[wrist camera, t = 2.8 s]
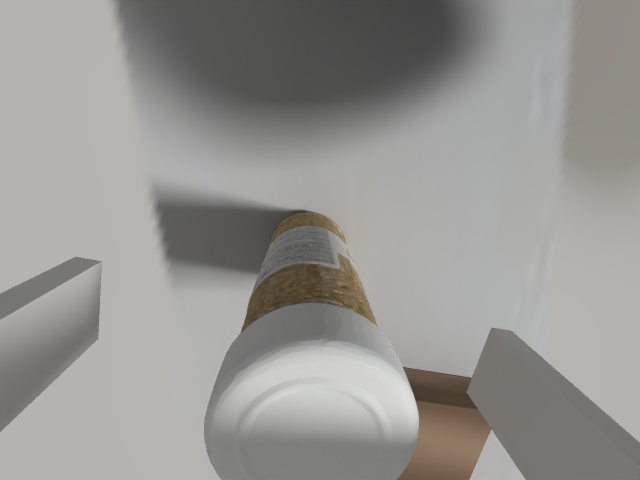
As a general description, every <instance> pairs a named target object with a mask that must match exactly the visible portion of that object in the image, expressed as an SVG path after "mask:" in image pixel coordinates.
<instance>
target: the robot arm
mask: <svg viewBox="0 0 640 480" xmlns="http://www.w3.org/2000/svg"><path fill="white" fill-rule="evenodd" d="M101 263H102V262H101V261H96V260H90V259H84V258H79V257H75V258H72V259H70V260H68V261H66V262H64V263H62V264H60V265H58V266H56V267H54V268H52V269H50V270H48V271H46V272H44V273H42V274H40V275H38V276H36V277H34V278H31V279H30V280H27V281H25V282H23V283H21V284H20V285H17V286H15V287H13V288H11V289H9V290H7V291H5V292H3V293H1V294H0V432H1V431H2V430H3V429H4V428H5V427H6V426H7V425H8V424H9V423H10V422H11V421H12V420H13V419H14V418H15V417H16V416H17V415H18V414H19V413H21V412H22V411H23V409H25V408H26V407H27V406H28V405H29V404H30V403H31V402H32V401H33V400H34V399H35V398H36V397H37V396H39V395H40V393H42V392H43V390H45V389H46V388H47V387H48V386H49V385H50V384H51V383H52V382H53V381H54V380H55V379H56V378H57V377H59V376H60V374H61V373H63V372H64V371H65V370H66V369H67V368H68V367H69V366H70V365H71V364H72V363H73V362H74V361H75V360H76V359H77V358H78V357H80V356H81V355H82V354H83V353H84V352H85V351H86V350H87V349H88V348H89V347H90V346H91V345H92V344H93V343H94V342H95V341H96V340H98V332H99V309H100V285H101ZM467 394H468V395H469V397H470V398H471V399H472V401H473V402H474V404H475V405H476V407H477V408H478V410H479V411H480V413H481V414H482V416H483V417H484V419H485V420H486V422H487V423H488V425H489V426H490V427H491V429H492V430H493V432H494V433H495V435H496V436H497V438H498V439H499V441H500V442H501V444H502V445H503V447H504V448H505V450H506V451H507V453H508V454H509V456H510V457H511V458H512V460H513V461H514V463H515V464H516V466H517V467H518V469H519V470H520V472H521V473H522V475H523V476H524V478H525V479H526V480H640V443H639V442H638V441H637V440H636V439H635V438H634V437H633V436H631V435H630V434H629V433H628V432H627V431H626V430H625V429H623V428H622V427H621V426H620V425H619V424H618V423H616V422H615V421H614V420H613V419H612V418H611V417H610V416H608V415H607V414H606V413H605V412H604V411H602V410H601V409H600V408H599V407H598V406H597V405H596V404H595V403H594V402H592V401H591V400H590V399H589V398H588V397H586V396H585V395H584V394H583V393H582V392H581V391H580V390H579V389H577V388H576V387H575V386H574V385H573V384H572V383H571V382H569V381H568V380H567V379H566V378H565V377H564V376H562V375H561V374H560V373H559V372H558V371H557V370H556V369H555V368H553V367H552V366H551V365H550V364H549V363H548V362H546V361H545V360H544V359H543V358H542V357H541V356H540V355H538V354H537V353H536V352H535V351H534V350H533V349H532V348H530V347H529V346H528V345H527V344H526V343H525V342H524V341H522V340H521V339H520V338H519V337H518V336H517V335H516V334H514V333H513V332H512V331H509V330H504V329H498V328H492V327H491V330H490V333H489V335H488V338H487V340H486V343H485V346H484V348H483V351H482V353H481V356H480V359H479V361H478V364H477V366H476V369H475V372H474V374H473V377H472V379H471V382H470V385H469V387H468V390H467Z"/></svg>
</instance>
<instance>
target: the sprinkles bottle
mask: <svg viewBox="0 0 640 480" xmlns="http://www.w3.org/2000/svg"><path fill="white" fill-rule="evenodd" d="M418 431H419V415H418V409H417V405H416V401H415V398H414V395H413V392H412V389H411V387H410V384H409V381H408V379H407V376H406V374H405V371H404V369H403V367H402V365H401V362H400V360H399V358H398V356H397V354H396V352H395V349H394V347H393V345H392V344H391V342H390V341H389V339H388V338H387V336H386V335H385V334H384V333H383V332H382V331H381V330H380V329H379V328H378V326H377V324H376V321H375V318H374V316H373V313H372V310H371V308H370V306H369V302H368V300H367V297H366V294H365V290H364V287H363V285H362V283H361V280H360V277H359V274H358V271H357V268H356V266H355V264H354V261H353V259H352V256H351V254H350V252H349V250H348V248H347V246H346V242H345V238H344V235H343V233H342V231H341V229H340V228H339V227H338V226H337V225H336V224H335V223H334V222H333V221H332V220H331V219H329V218H327V217H326V216H323V215H320V214H317V213H313V212H305V213H297V214H294V215H291V216H289V217H288V218H286V219H284V220H283V221H282V222H281V223H280V224H279V225H278V226H277V228H276V229H275V230H274V232H273V234H272V236H271V239H270V244H269V249H268V251H267V253H266V256H265V259H264V261H263V264H262V267H261V269H260V272H259V275H258V278H257V281H256V283H255V286H254V289H253V292H252V295H251V297H250V300H249V304H248V308H247V315H246V318H245V321H244V325H243V327H242V330H241V333H240V335H239V336H238V337H237V338H236V340H235V341H234V342H233V343H232V345H231V346H230V348H229V350H228V352H227V353H226V356H225V358H224V361H223V363H222V366H221V368H220V371H219V373H218V376H217V379H216V382H215V385H214V388H213V391H212V394H211V397H210V401H209V404H208V407H207V412H206V416H205V422H204V437H205V444H206V449H207V453H208V456H209V459H210V461H211V464H212V465H213V467H214V469H215V471H216V473H217V474H218V476H219V477H220V478H221V479H222V480H397V479H398V478H399V477H400V475H401V474H402V473H403V471H404V470H405V468H406V467H407V465H408V463H409V461H410V459H411V457H412V455H413V453H414V450H415V447H416V444H417V439H418Z"/></svg>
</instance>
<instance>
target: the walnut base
mask: <svg viewBox="0 0 640 480" xmlns="http://www.w3.org/2000/svg"><path fill="white" fill-rule="evenodd" d="M403 369H404V371H405V374H406V376H407V379H408V381H409V384H410V387H411V389H412V392H413V395H414V398H415V401H416V405H417V409H418V415H419V431H418V439H417V444H416V447H415V450H414V453H413V455H412V457H411V459H410V461H409V463H408V465H407V467H406V468H405V470H404V471H403V473H402V474H401V475H400V477H399V478H398V479H397V480H469V479H470V477H471V474H472V472H473V470H474V468H475V465H476V463H477V461H478V458H479V456H480V454H481V451H482V449H483V447H484V444H485V442H486V440H487V438H488V435H489V433H490V431H491V427H490V426H489V425H488V423H487V422H486V420H485V419H484V417H483V416H482V414H481V413H480V411H479V410H478V408H477V407H476V405H475V404H474V402H473V401H472V399H471V398H470V397H469V395H468V394H467V390H468V387H469V385H470V382H471V379H472V378H467V377H461V376H454V375H448V374H441V373H435V372H429V371H422V370H416V369H409V368H403Z"/></svg>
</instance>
